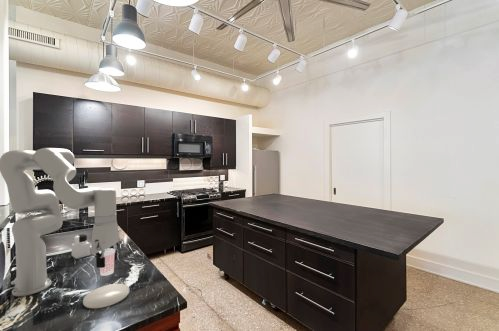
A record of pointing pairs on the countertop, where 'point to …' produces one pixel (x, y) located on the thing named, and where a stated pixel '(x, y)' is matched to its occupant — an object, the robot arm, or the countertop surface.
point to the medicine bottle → (80, 246)
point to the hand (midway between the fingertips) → (106, 263)
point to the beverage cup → (108, 262)
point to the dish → (106, 296)
